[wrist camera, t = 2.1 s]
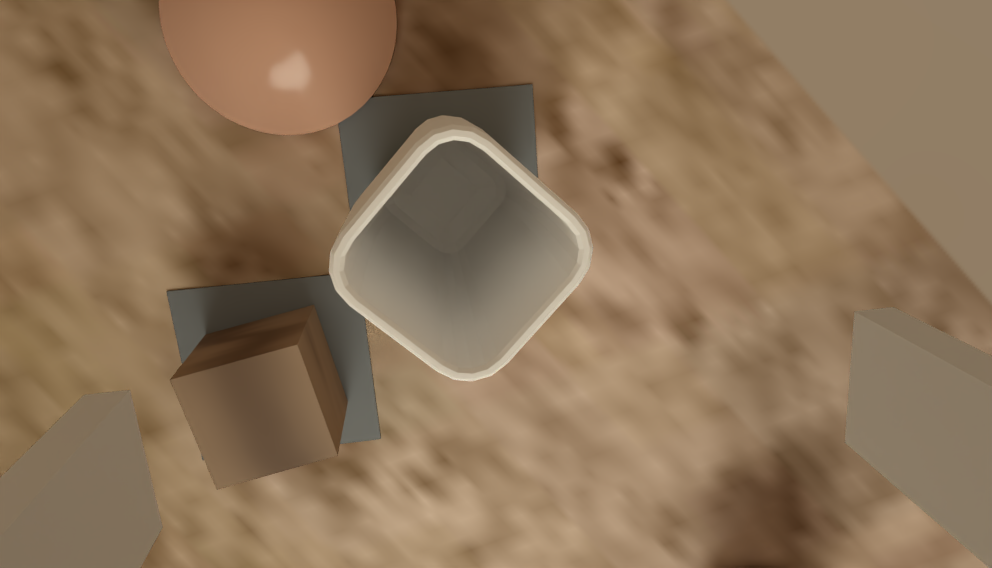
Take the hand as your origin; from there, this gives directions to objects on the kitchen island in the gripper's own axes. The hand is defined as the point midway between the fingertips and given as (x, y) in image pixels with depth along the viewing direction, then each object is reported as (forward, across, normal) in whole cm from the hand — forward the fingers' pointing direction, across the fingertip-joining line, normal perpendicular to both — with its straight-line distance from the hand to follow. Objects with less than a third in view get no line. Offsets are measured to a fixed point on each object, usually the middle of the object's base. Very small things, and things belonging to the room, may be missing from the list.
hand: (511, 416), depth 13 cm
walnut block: (+26, -10, -9) cm, 30 cm away
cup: (+26, 0, 0) cm, 27 cm away
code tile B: (+26, -10, -9) cm, 30 cm away
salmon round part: (+26, -7, +9) cm, 29 cm away
